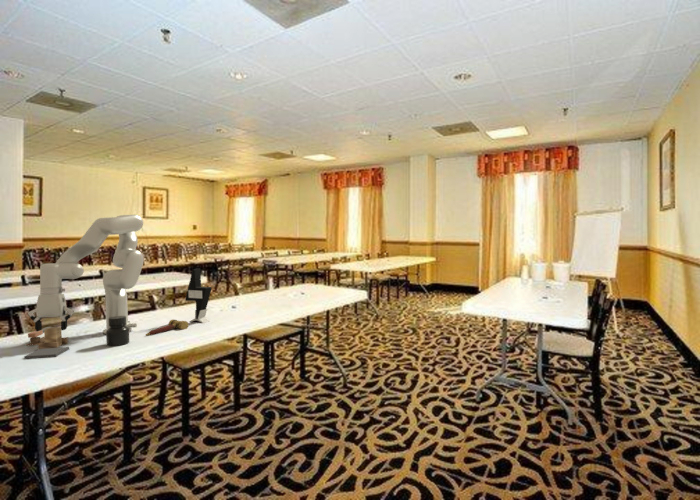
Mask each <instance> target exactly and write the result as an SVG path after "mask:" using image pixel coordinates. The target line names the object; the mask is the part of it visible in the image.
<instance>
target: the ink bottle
mask: <svg viewBox="0 0 700 500" xmlns="http://www.w3.org/2000/svg"><path fill="white" fill-rule="evenodd" d="M108 320H109V329H107V331H106V334H105V335H106V341H105V343H106V346H109V347H117V346H123V345H126V344H128V343H130V331H129V328H128V327H127V326H125V325H126V316H114V317H110V318H108Z"/></svg>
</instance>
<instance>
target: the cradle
mask: <svg viewBox="0 0 700 500" xmlns="http://www.w3.org/2000/svg"><path fill="white" fill-rule="evenodd" d="M68 338H69V337H62V345H63V344H64V345H65V344H68V343H69V342H68V341H69V340H68ZM37 346H38V347H37V348H38V349H44V348H60V346H59V343H58V342H48V343H45V342H44V343H39V344H38V345H37ZM38 349H37V350H38Z"/></svg>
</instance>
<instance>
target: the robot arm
mask: <svg viewBox="0 0 700 500" xmlns="http://www.w3.org/2000/svg"><path fill="white" fill-rule="evenodd" d="M143 226H144V220H143V218H142V217H141V216H140V215H137V214H122V215H117V216H115V217H113V216H111V217H100V218H97V219H95V220H94V221H93V223H92V224H91V225H90V226H89V228H88V229H86V232H85V233H84V234H83V236H82V237H81V238H80V239H79V240H78V241H77V242H76V243H74V244H73V245H71V247H69V248H68V249H66V250H65V251H64V252H63V253H62V254H61V256H60V257H59V258H58V259H57V260H56V262H55V263H52V262H51V263H42V264H41V265H40V266H39V267H40V268H39V275H40V276H39V278H40V279H39V281H40V282H39V283H40V285H39V287H40V289H39V292H40V294H39V295H38V296H37V302H36V308H35V309H32V310H30V311H28V312H27V315H29V318H30V319H31V321H33V323H34V329H35V331H40V330H42V329H43V326H42V325H43V322H42V321H41V320H42V319H44V318H45V319H47V318H48V319H49V318H59V319H60V320H61V321H60V327H61V331H65V330H67V328H68V321H69V319H70V318H71V317H72V316H73V313H75V312H74V311H75V310H74V309H71V308H69V307H67V301H66V298H65V297H66V296H65V293H63V292H65V291H66V288H63V286H62V285H63V284H62V282H63V281H62V280H63V279H68V280H75V279H78V278H80V277H81V276H83V274H84V267H83V266H82V264H80V263H79V261H80V260H82V259H84V258H85V257H87V256H89V255H92V254H94V253H96V252H97V251H98V250H99V249H100V247H102V245H103V243H104V242H105V241H106V239H107V238H109V236H110V235H111V236H114V235H118V244H117V246H116V249H115V252H114V254H113V258H112V263H113V266H115V267H116V268H120V269H111V270H108V271H106V272H105V274H104V275H103V277H102V285H103V289H104V293H105V295H104V296H105V321H106V323H105V324H106V328H104V329H103V331H102V334H104V335H106V331H107V329H109V320H108V318H110V317H114V316H126V325H125V326H127V327H128V328H129V332H131V331H132V328H137V326H138V323H136V322H135V323H134V322H132V323H131V321H130V320H129V317H128V316H129V315H128V314H129V312H128V311H129V309H128V292H127V290H130V289H133V287H135V286H136V285H137V283H138V281H139V278H140V274H141V273H142V269H143V265H144V255H143V253H142V252H141V251H140V250H138V249H137V246H138V242H139V241H138V236H137V233H136V232H138V231H140V230H141V229H142V228H143ZM67 312H68V314H67Z"/></svg>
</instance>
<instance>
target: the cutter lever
mask: <svg viewBox="0 0 700 500" xmlns="http://www.w3.org/2000/svg"><path fill="white" fill-rule="evenodd" d="M50 327H51V326H46V327H42V330H40V331H36V330H34V331H31V332H28V333H27V337H28V339H30V338H32V337H40V336H42V335H44V330H45V329H47V328H50Z"/></svg>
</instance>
